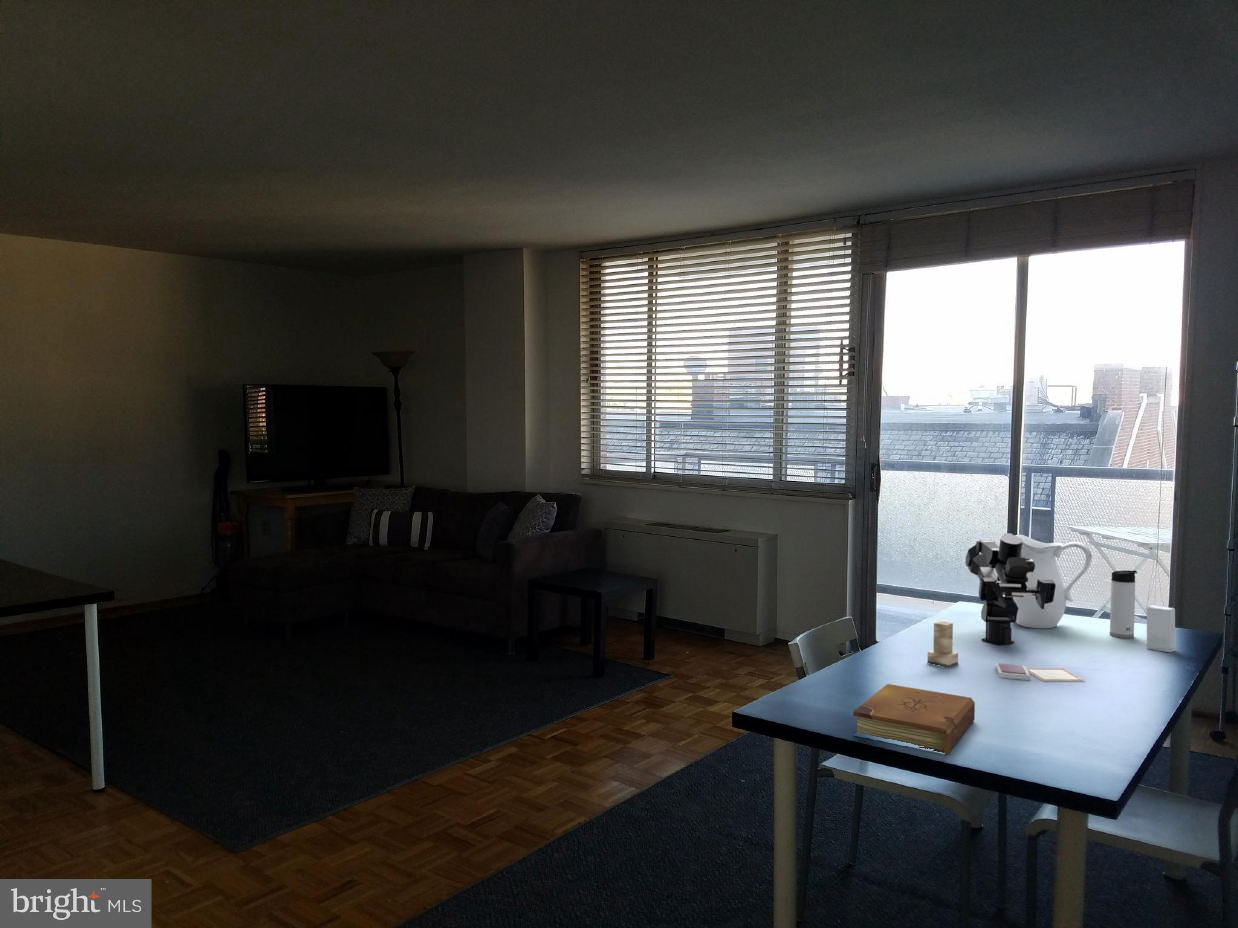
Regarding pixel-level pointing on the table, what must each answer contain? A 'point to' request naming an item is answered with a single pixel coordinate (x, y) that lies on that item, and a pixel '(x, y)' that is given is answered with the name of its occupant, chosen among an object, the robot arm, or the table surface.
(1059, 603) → the pitcher
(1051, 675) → the marked card
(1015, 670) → the ink pad
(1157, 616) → the skincare box
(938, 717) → the diary
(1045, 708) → the table surface
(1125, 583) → the travel mug
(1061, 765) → the table surface
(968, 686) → the table surface
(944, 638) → the stamp
